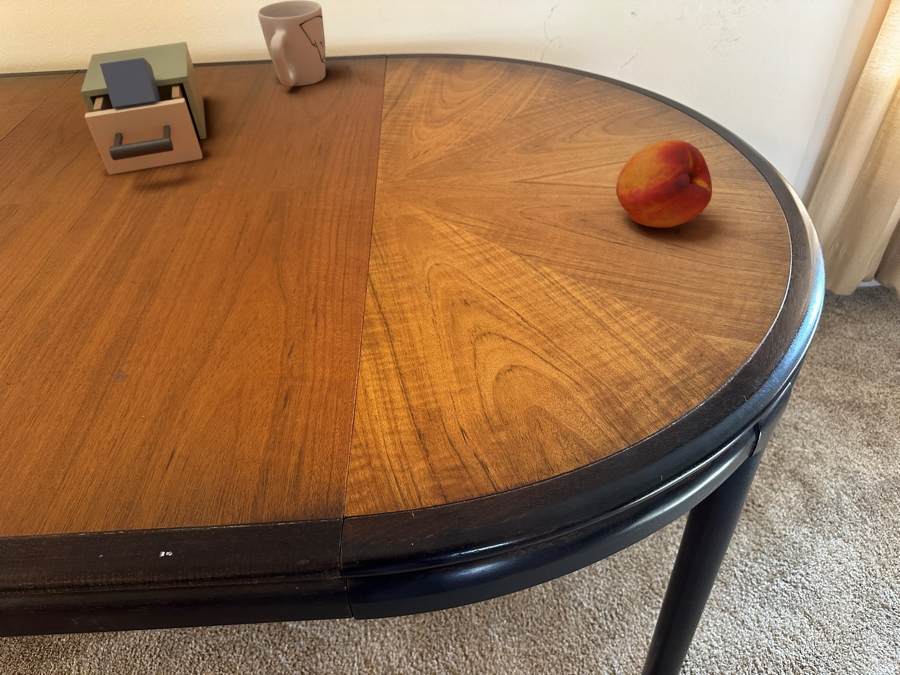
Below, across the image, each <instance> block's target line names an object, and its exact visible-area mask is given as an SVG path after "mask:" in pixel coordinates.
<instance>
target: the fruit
mask: <svg viewBox="0 0 900 675" xmlns="http://www.w3.org/2000/svg"><path fill="white" fill-rule="evenodd" d="M616 180H617V181H616V185H615V187H616V188H615V190H616V191H615V192H616V197H617V199H618V202H619V204H620V206H621V207H622V209H623V210H624V211H625V212H627V214H628V216H629V218H630V219H631V220H632V221H633V222H635V223H637V224H640V225H642V226H645V227H650V228H658V229H660V228H662V229H663V228H664V229H665V228H672V227H677V226H680V225H683V224H685V223H687V222H689V221H691V220H693V219H695V218H696V217H697V216H699V215H700V214H701V213H702V212H703V211H704V210H705V209H706V208H707V207H708V205H709V204H710V202H711V200H712V197H713V185H712V184H713V182H712V177H711V173H710V169H709V167H708V164H707V161H706V159H705V157H704V156H703V154H702V152H701V151H700V150H699V149H698V148H697V147H695V146H694V145H693V144H691V143H689V142H687V141H684V140H679V139H663V140H658V141H655V142H652V143H649V144H648V145H645V146H643V148H641V149H639V150H637V151H636V152H635V153H634V154H633V155H632V156H631V157H629V159H628V160H627V161H626V162H625V164H624V165H623V167H622V168H621V169H620V171H619V174H618V176H617V179H616Z"/></svg>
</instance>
